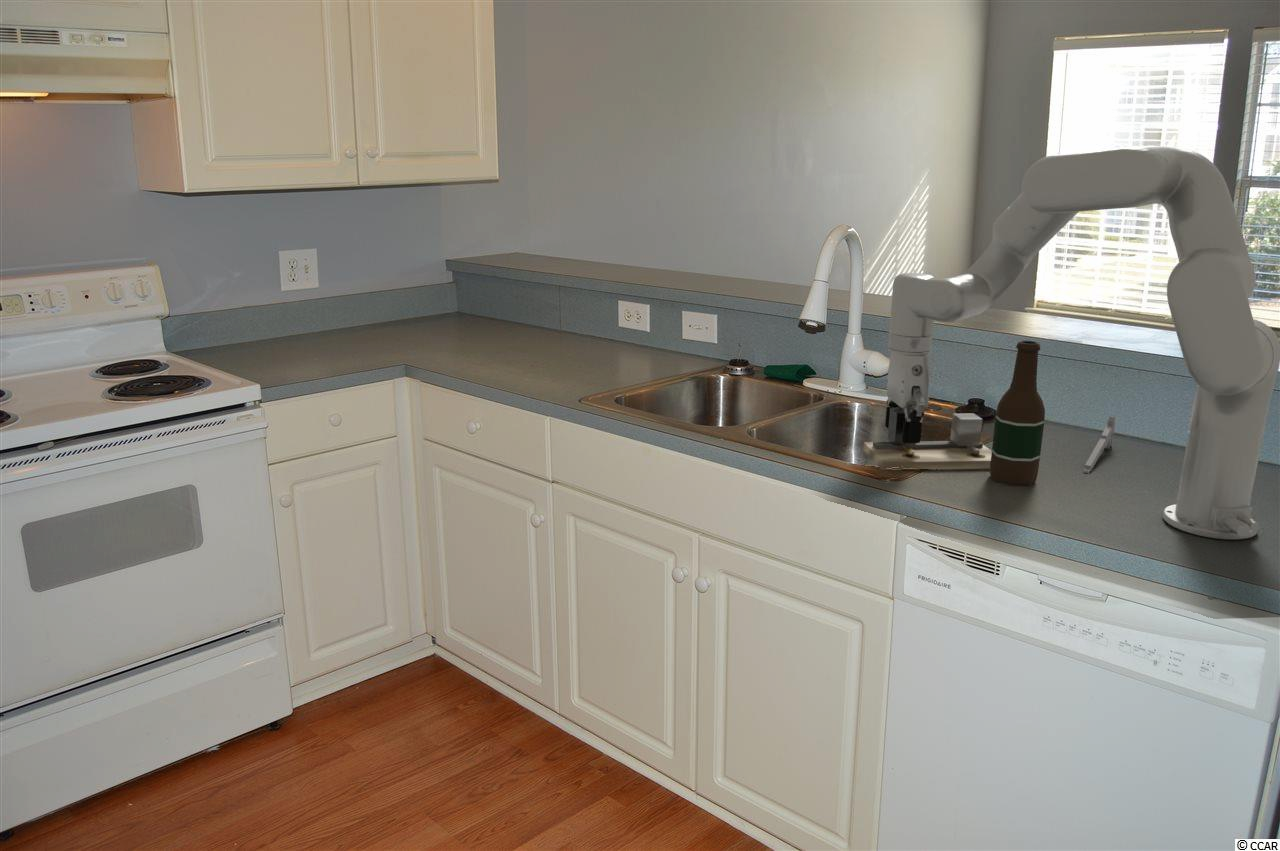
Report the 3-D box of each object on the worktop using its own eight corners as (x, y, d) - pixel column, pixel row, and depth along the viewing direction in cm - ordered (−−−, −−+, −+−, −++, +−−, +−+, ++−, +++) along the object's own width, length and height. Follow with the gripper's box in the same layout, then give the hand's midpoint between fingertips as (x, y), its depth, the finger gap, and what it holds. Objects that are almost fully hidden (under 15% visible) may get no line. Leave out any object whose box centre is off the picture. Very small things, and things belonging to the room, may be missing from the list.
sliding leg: (923, 455, 179) (926, 418, 177) (901, 455, 178) (904, 419, 176) (908, 442, 186) (911, 407, 184) (887, 442, 186) (890, 407, 184)
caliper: (1105, 446, 192) (1110, 415, 191) (1111, 447, 192) (1116, 415, 190) (1082, 474, 176) (1087, 439, 174) (1088, 475, 176) (1093, 440, 174)
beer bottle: (992, 469, 177) (1007, 336, 171) (1038, 476, 174) (1056, 340, 167) (985, 482, 170) (1001, 344, 164) (1034, 489, 167) (1052, 348, 161)
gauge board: (1003, 468, 178) (1008, 429, 176) (882, 470, 176) (885, 430, 174) (977, 448, 189) (981, 411, 187) (863, 449, 188) (865, 412, 186)
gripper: (948, 353, 171) (939, 448, 176) (914, 334, 187) (906, 421, 192) (905, 353, 170) (897, 449, 175) (875, 334, 187) (868, 422, 192)
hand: (902, 434), depth 184 cm, fingers open, 9 cm apart
